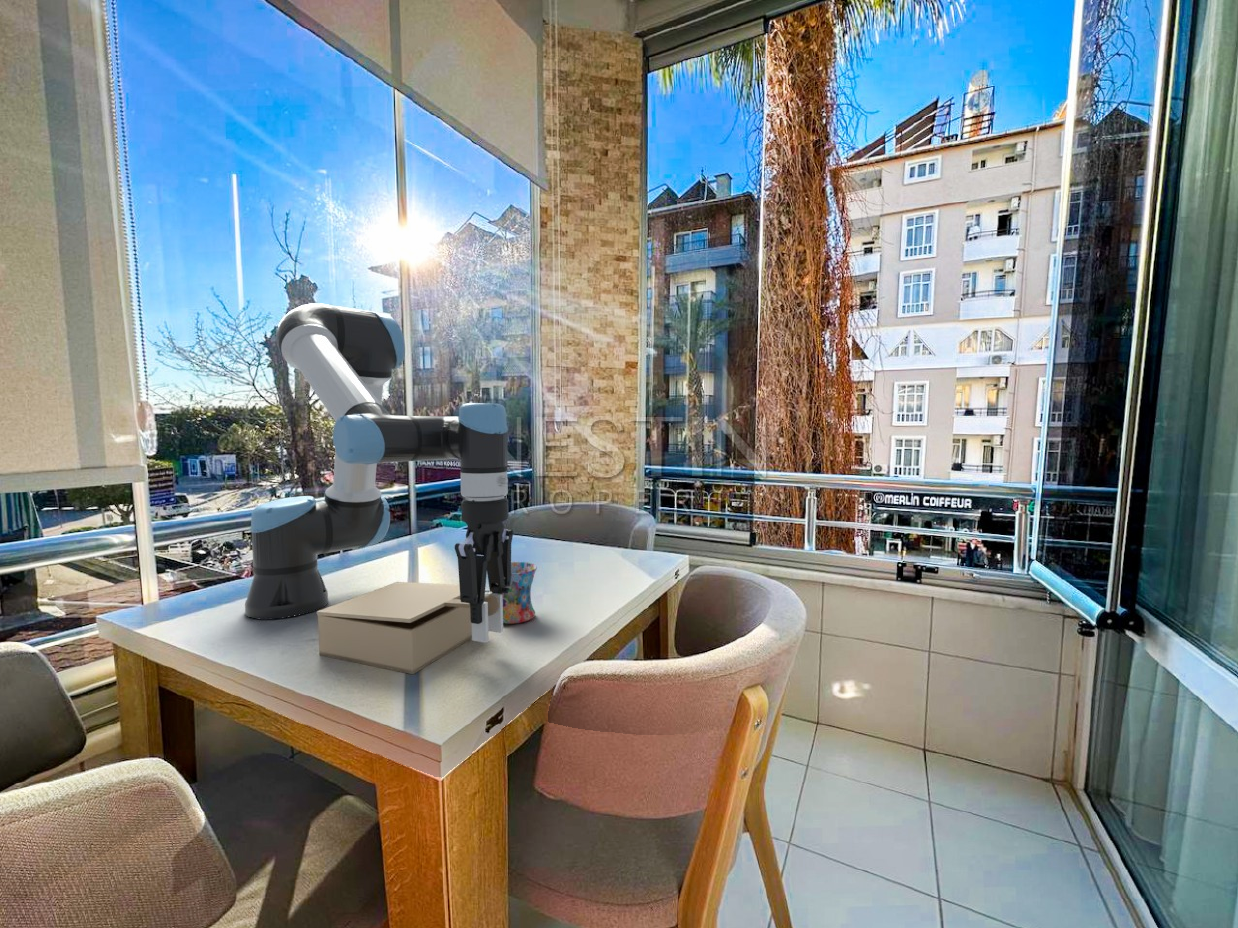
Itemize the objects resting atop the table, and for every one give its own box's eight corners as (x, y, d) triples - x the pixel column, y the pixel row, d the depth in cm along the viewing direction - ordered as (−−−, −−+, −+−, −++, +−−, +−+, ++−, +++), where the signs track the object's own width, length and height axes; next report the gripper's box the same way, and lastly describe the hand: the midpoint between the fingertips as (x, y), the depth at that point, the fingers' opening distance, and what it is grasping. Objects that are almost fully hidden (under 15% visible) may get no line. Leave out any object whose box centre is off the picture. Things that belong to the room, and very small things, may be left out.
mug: (520, 630, 102) (520, 576, 101) (481, 623, 105) (480, 570, 105) (552, 610, 113) (551, 561, 112) (515, 604, 116) (514, 556, 116)
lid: (317, 623, 90) (315, 602, 90) (397, 591, 107) (396, 574, 107) (463, 636, 79) (461, 613, 79) (526, 599, 97) (524, 579, 96)
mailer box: (319, 654, 91) (317, 614, 90) (397, 618, 107) (396, 585, 107) (413, 674, 84) (411, 631, 83) (480, 632, 100) (480, 596, 100)
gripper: (473, 505, 78) (476, 659, 80) (530, 492, 94) (532, 621, 96) (432, 503, 81) (436, 652, 83) (494, 490, 96) (496, 616, 98)
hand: (487, 635), depth 89 cm, fingers closed on lid, 4 cm apart
